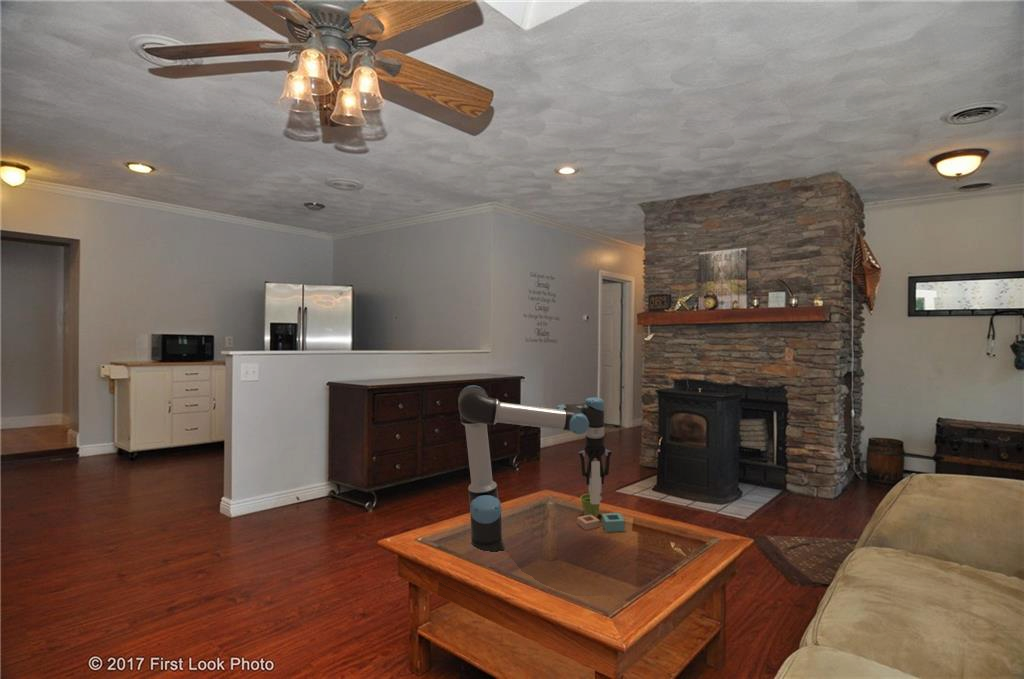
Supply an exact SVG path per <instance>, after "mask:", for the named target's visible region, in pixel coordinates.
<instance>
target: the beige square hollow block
mask: <svg viewBox="0 0 1024 679" xmlns="http://www.w3.org/2000/svg"><path fill="white" fill-rule="evenodd" d="M576 519H577V520H576V522H577V523H576V524H577V525H578V526H580V528H582V529H583V530H585V531H588V530H593V529H597V528H600V527H601V522H600V519H599V518H598V517H594V516H593V515H592V514H590V515H585V516H584V515H582V516H577V518H576Z"/></svg>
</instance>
